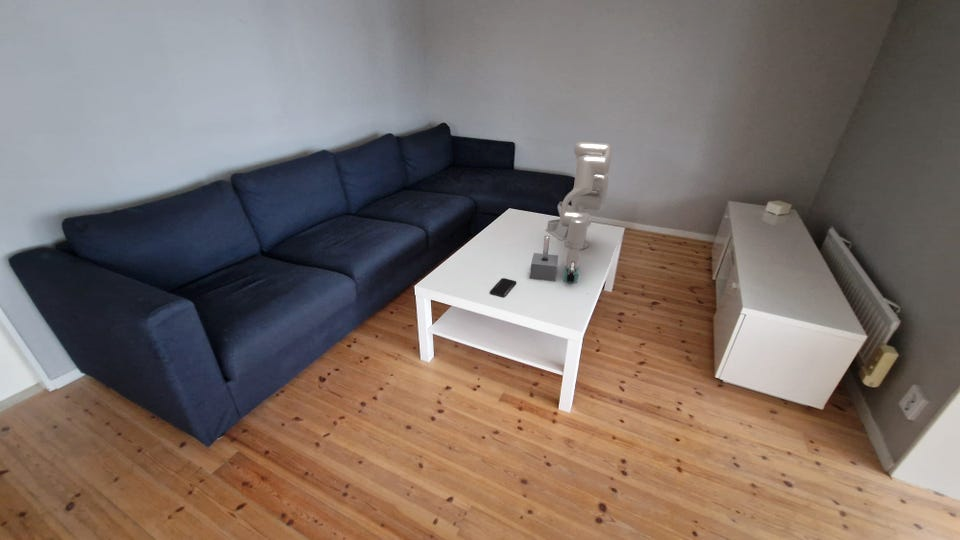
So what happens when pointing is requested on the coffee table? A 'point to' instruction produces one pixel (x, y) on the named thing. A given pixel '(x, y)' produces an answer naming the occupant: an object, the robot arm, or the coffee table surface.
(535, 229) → the coffee table surface
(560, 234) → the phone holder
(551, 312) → the coffee table surface
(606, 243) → the coffee table surface
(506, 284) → the phone
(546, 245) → the shaft
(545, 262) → the bearing block
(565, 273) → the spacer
